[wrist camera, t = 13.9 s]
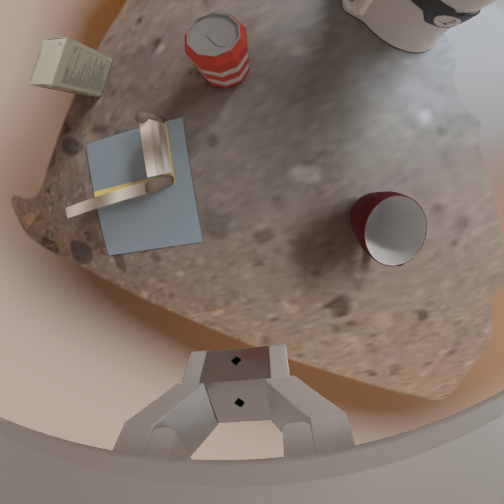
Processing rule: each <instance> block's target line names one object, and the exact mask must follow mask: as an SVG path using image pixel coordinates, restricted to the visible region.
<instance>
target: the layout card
mask: <svg viewBox="0 0 504 504" xmlns="http://www.w3.org/2000/svg"><path fill="white" fill-rule="evenodd" d="M165 131H166V138H167V145H168V152H169V158H170V164H171V171H172V172H170V173H166V174H161V175H157V176H152V177H148V178H147V173H146V167H145V160H144V154H143V147H142V141H141V134H140V128H137V129H134V130H130V131H127V132H123V133H120V134H117V135H113V136H110V137H107V138H104V139H101V140H98V141H95V142H92V143H89V144H86V147H87V155H88V161H89V168H90V174H91V180H92V185H93V191H94V197H97V196H100V195H103V194H106V193H109V192H112V191H115V190H118V189H121V188H125V187H128V186H131V185H134V184H138V183H141V182H144V181H145V182H147V181H149V180H151V179H155V178H159V177H163V176H167V175H171V176H173V177H174V183H173V184H172V185H170V186H167V187H165V188H162V189H159V190H157V191H154V192H148V193H147V194H143V195H140V196H136V197H133V198H130V199H126V200H123V201H120V202H116V203H113V204H110V205H107V206H103V207H100V208H97V210H98V215H99V219H100V224H101V228H102V232H103V236H104V240H105V244H106V248H107V252H108V256H109V255H116V254H122V253H129V252H136V251H143V250H150V249H156V248H163V247H170V246H178V245H185V244H192V243H199V242H203V237H202V232H201V227H200V221H199V216H198V210H197V205H196V199H195V193H194V187H193V181H192V175H191V169H190V163H189V156H188V150H187V143H186V136H185V129H184V122H183V118H177V119H173V120H168V121H165Z"/></svg>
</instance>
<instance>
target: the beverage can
mask: <svg viewBox="0 0 504 504" xmlns="http://www.w3.org/2000/svg"><path fill="white" fill-rule="evenodd" d="M185 52H186V54H187V55H188V56H189V58H190V59H191V60H192V62H193V63H194V65H195V66H196V67H197V69H198V70H199V72H200V73H201V74H202V76H203V77H204V78H205V79H206V80H207V81H208V82H209V83H210V84H211V85H213V86H219V87H225V88H228V87H230V86H233V85H235V84H238V83H241V82H242V81H243V79H244V78H245V76H246V75H247V73H248V72H249V71H250V69H249V57H248V47H247V36H246V28H245V27H244V26H243V25H242V24H241V23H240V22H238V21H237V20H236V19H235V18H234V17H231V16H230V15H229V14H225V13H217V12H211V13H208V14H205V15H203V16H200V17H198V18H196V19H195V20H194V21H193V23H192V24H191V25H190V27H189V28H188V29H187V33H186V35H185Z"/></svg>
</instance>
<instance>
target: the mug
mask: <svg viewBox="0 0 504 504" xmlns="http://www.w3.org/2000/svg"><path fill="white" fill-rule="evenodd" d="M351 225H352V228H353V231H354V233H355V235H356V237H357V239H358V241H359V243H360V245H361V246H362V248H363V249H364V250H365V251H366V253H367V254H369V255H370V256H371V257H372V258H373V259H374V260H375V261H377V262H378V263H380V264H383V265H386V266H401V265H403V264H404V263H406V262H408V261H409V260H411V259H412V258H413V257H414V256H415V255H416V254H417V253H418V252H419V250H420V249H421V247H422V245H423V243H424V240H425V236H426V229H427V225H426V218H425V215H424V212H423V210H422V208H421V207H420V205H419V204H418V203H417V202H416V201H415V200H413V199H412V198H410V197H408V196H405V195H402V194H400V193H396V192H376V193H369V194H366V195H364V196H362V197H361V198H360V199H358V201H357V202H356V203H355V205H354V206H353V209H352V212H351Z"/></svg>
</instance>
